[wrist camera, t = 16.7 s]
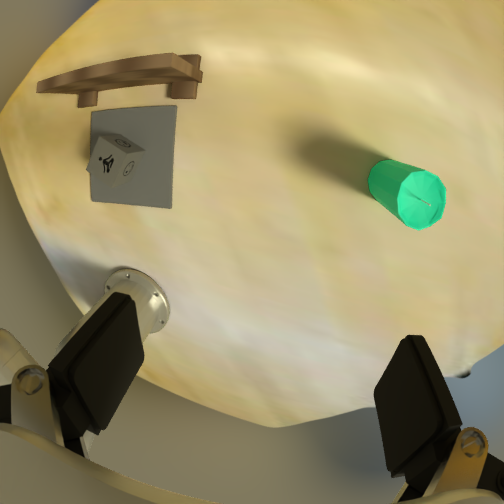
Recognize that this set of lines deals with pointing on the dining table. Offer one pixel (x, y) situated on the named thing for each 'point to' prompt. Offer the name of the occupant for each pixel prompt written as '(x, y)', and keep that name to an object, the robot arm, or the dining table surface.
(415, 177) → the candle
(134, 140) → the grey mat
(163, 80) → the walnut screen
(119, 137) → the dice cube
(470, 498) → the robot arm
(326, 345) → the dining table surface
